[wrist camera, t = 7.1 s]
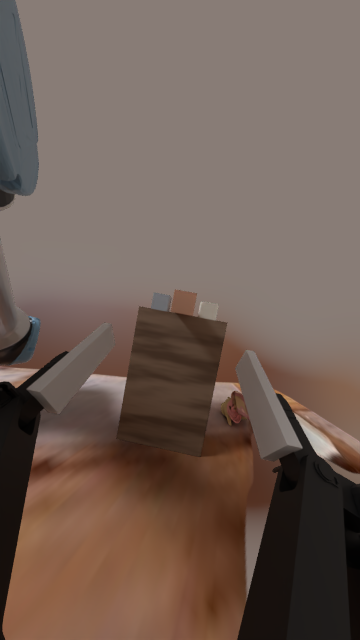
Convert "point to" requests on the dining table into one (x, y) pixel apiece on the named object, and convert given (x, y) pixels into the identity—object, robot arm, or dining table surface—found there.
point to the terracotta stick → (183, 302)
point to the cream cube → (208, 310)
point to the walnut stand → (171, 380)
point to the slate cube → (161, 302)
